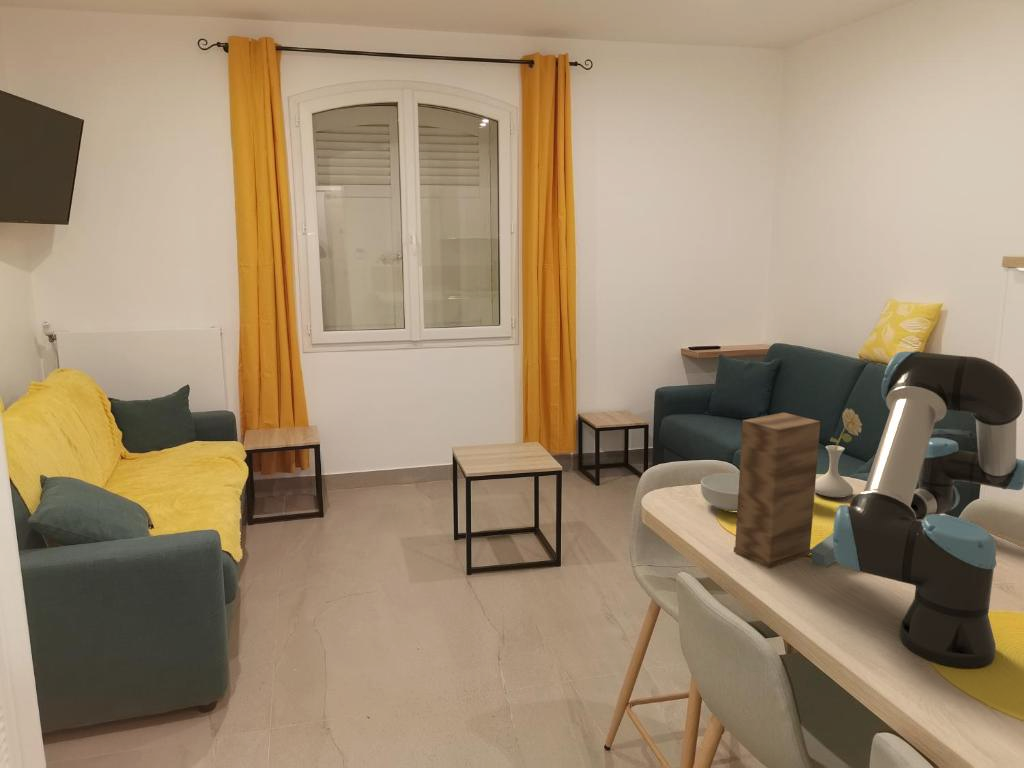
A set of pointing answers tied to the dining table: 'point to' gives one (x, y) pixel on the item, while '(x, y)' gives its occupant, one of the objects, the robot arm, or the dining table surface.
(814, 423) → the pedestal
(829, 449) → the flower in vase
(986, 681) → the dining table surface
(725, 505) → the cereal bowl
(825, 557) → the bar
